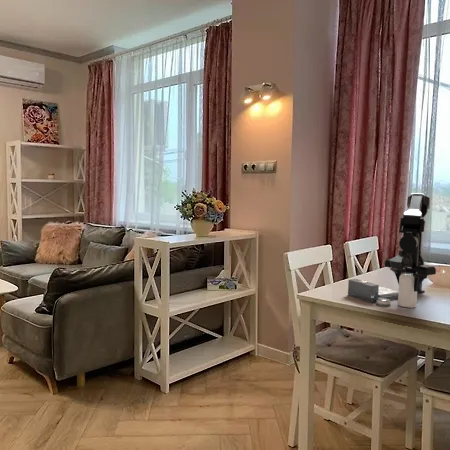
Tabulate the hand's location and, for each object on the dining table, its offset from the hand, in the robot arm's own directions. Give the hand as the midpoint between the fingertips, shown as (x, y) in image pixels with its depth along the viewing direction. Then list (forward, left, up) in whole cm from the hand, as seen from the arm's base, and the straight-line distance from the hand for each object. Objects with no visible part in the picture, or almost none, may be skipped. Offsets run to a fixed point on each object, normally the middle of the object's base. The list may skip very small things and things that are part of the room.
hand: (407, 289), depth 174 cm
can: (0, 0, -6) cm, 6 cm away
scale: (+1, -15, -6) cm, 16 cm away
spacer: (+7, -5, -6) cm, 11 cm away
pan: (-1, -15, -5) cm, 16 cm away
